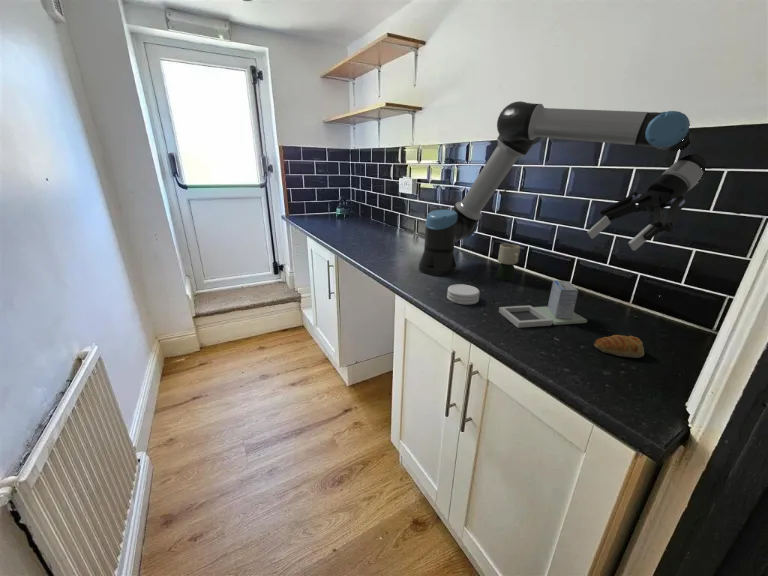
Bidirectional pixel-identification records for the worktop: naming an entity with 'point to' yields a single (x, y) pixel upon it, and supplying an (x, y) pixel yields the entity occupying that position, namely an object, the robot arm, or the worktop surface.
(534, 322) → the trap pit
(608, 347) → the pastry
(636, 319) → the worktop surface
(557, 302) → the medicine box
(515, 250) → the character mug
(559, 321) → the pad
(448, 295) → the coaster
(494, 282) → the worktop surface
